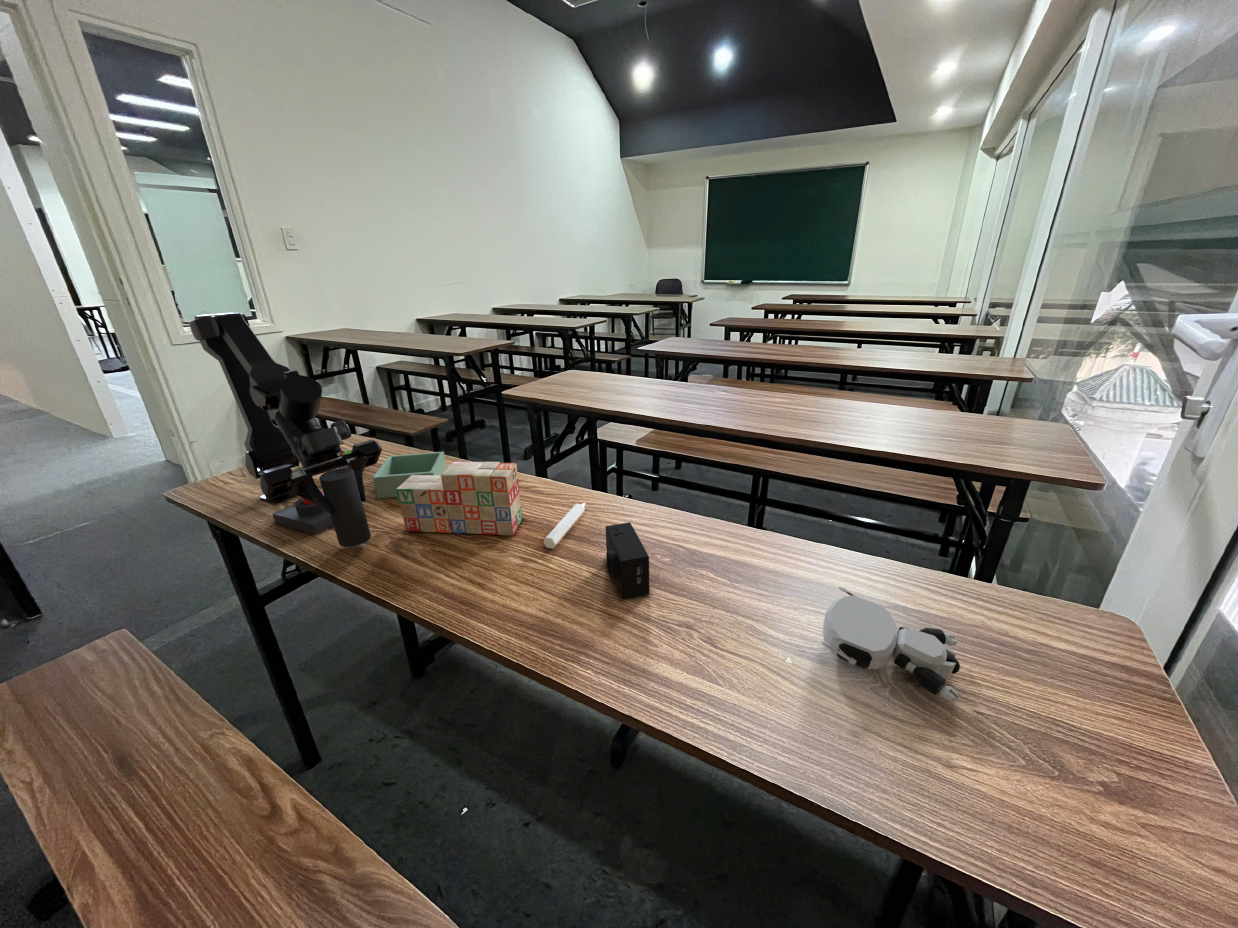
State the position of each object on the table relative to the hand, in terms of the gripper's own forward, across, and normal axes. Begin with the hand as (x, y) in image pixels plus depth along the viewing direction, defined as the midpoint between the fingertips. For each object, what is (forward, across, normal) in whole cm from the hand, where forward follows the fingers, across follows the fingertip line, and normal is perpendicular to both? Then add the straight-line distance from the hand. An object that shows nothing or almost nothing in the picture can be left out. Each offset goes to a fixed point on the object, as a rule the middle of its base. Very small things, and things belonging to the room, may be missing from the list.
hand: (348, 507), depth 83 cm
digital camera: (+37, +22, -25) cm, 49 cm away
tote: (-6, +21, +18) cm, 28 cm away
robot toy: (+62, +28, -51) cm, 85 cm away
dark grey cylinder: (+4, 0, +6) cm, 7 cm away
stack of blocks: (+12, +16, 0) cm, 20 cm away
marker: (+24, +28, -12) cm, 39 cm away
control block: (-7, 0, +20) cm, 21 cm away
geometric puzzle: (-19, +15, +31) cm, 39 cm away
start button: (-10, 0, +17) cm, 20 cm away
